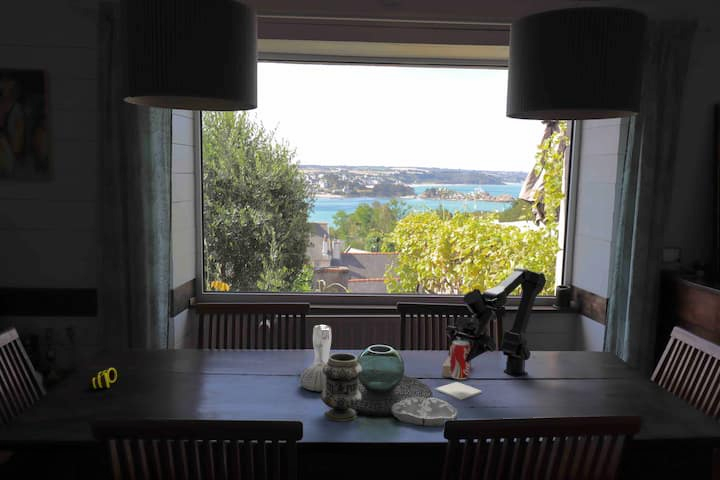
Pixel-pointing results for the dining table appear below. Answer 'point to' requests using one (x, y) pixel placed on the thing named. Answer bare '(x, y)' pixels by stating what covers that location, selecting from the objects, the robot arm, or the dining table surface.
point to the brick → (446, 368)
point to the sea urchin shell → (314, 378)
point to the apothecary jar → (341, 386)
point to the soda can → (459, 359)
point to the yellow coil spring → (105, 378)
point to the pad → (458, 390)
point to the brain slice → (424, 411)
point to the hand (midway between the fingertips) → (457, 358)
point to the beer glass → (321, 343)
